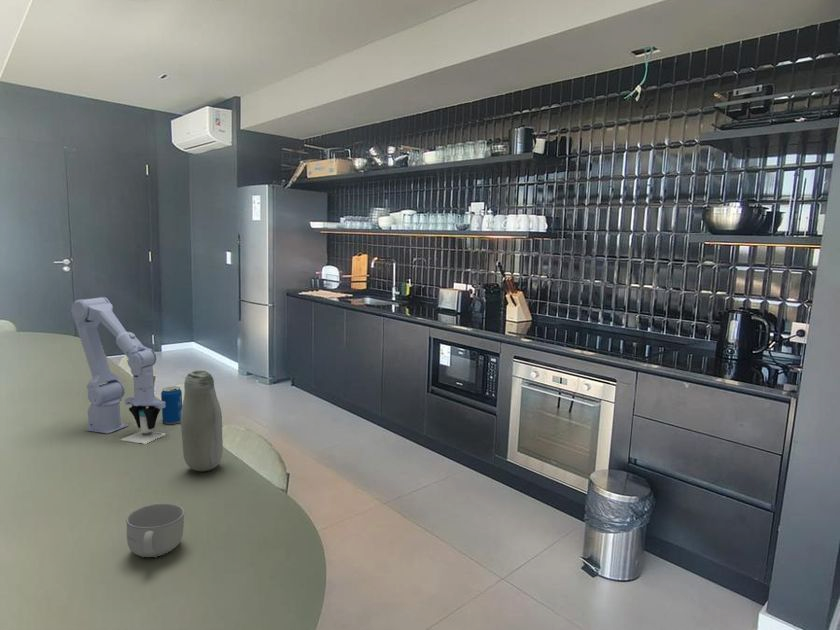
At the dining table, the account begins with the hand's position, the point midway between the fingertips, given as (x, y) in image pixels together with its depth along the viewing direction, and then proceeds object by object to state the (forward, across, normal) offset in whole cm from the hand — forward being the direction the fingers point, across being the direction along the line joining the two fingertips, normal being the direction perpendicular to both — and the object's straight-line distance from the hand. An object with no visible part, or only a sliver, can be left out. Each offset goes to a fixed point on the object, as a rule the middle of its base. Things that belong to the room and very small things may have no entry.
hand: (146, 427), depth 175 cm
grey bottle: (+3, +35, -16) cm, 38 cm away
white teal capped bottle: (+2, 0, 0) cm, 2 cm away
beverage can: (+3, -1, +13) cm, 13 cm away
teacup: (+3, +53, -52) cm, 74 cm away
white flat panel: (+2, +1, -2) cm, 3 cm away
